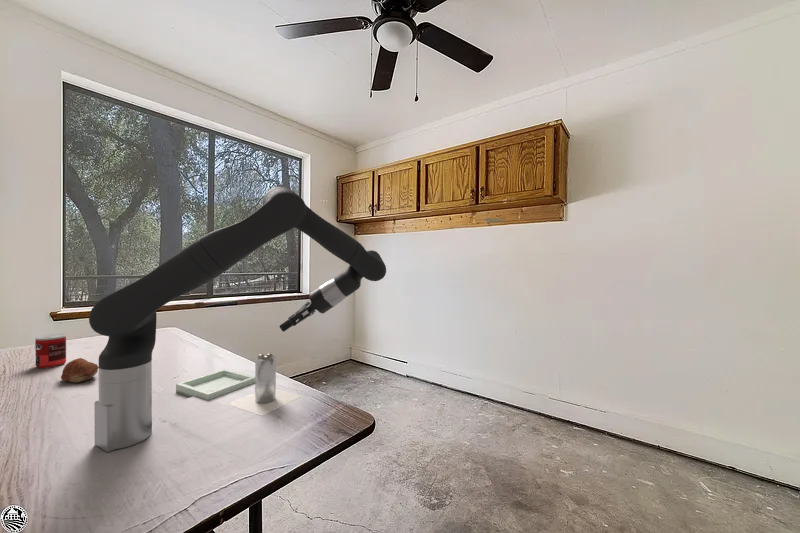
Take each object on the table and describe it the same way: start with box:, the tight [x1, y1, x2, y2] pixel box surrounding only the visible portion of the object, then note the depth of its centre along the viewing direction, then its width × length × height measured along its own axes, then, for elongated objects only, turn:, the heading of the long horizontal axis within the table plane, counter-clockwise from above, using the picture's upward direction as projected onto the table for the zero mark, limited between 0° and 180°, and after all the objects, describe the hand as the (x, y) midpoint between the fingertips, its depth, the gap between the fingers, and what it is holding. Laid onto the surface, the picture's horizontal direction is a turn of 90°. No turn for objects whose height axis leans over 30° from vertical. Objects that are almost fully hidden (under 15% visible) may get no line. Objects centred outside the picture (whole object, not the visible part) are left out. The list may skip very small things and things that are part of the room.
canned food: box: [34, 333, 67, 369], centre depth 123 cm, size 8×8×11 cm
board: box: [227, 388, 302, 417], centre depth 94 cm, size 14×14×1 cm
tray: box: [175, 368, 255, 401], centre depth 104 cm, size 16×16×2 cm
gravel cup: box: [254, 353, 277, 404], centre depth 93 cm, size 5×5×13 cm
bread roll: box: [60, 357, 99, 383], centre depth 110 cm, size 13×8×10 cm
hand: (285, 324), depth 102 cm, fingers open, 8 cm apart
